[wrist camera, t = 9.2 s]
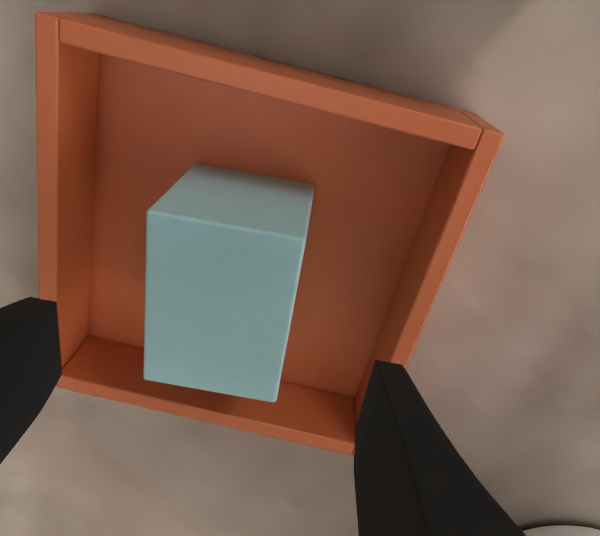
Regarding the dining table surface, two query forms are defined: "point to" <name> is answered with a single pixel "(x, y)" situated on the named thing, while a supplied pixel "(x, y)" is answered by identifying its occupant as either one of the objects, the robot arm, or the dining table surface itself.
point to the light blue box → (223, 280)
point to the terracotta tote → (254, 159)
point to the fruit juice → (562, 531)
